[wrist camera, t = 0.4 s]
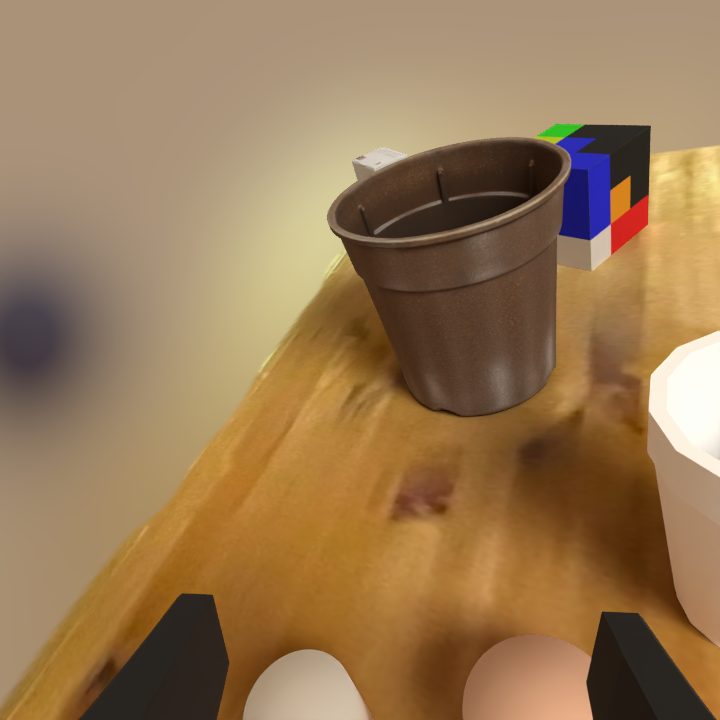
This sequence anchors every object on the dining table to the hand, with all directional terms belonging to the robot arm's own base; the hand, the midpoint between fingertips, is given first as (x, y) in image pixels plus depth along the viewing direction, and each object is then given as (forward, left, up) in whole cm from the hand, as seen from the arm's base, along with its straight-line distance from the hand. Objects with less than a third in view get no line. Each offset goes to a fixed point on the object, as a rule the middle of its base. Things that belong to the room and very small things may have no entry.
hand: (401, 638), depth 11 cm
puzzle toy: (+50, -16, -20) cm, 56 cm away
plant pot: (+32, -3, -20) cm, 38 cm away
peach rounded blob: (+4, -2, -19) cm, 20 cm away
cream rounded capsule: (+5, +8, -19) cm, 21 cm away
